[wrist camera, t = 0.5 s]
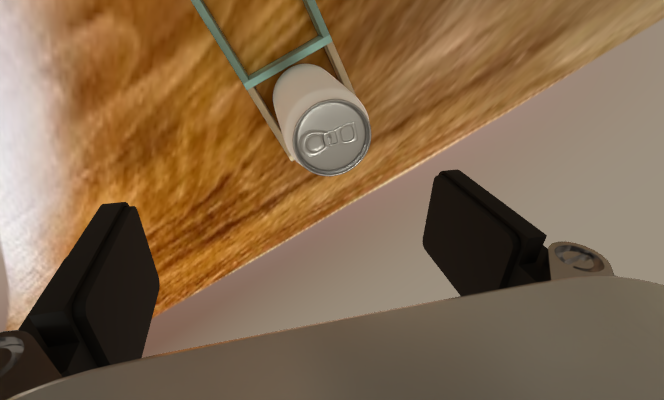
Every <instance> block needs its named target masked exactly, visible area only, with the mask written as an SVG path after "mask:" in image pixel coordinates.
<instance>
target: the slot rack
mask: <svg viewBox="0 0 664 400" xmlns="http://www.w3.org/2000/svg"><path fill="white" fill-rule="evenodd" d="M191 2H192V3H193V5H194V6H195V8H196V10H197V11H198V13H199V14H200V16H201V18H202V19H203V21H204V22H205V24H206V26H207V27H208V29H209V30H210V32H211V34H212V35H213V37H214V38H215V40H216V42H217V43H218V45H219V46H220V48H221V50H222V51H223V53H224V54H225V56H226V58H227V59H228V61H229V62H230V64H231V66H232V67H233V69H234V70H235V72H236V74H237V75H238V77H239V78H240V80H241V82H242V83H243V85H244V86H245V88H246V90H247V91H248V93H249V94H250V96H251V98H252V99H253V101H254V102H255V104H256V106H257V107H258V109H259V110H260V112H261V114H262V115H263V117H264V118H265V120H266V122H267V123H268V125H269V126H270V128H271V130H272V131H273V133H274V134H275V136H276V138H277V139H278V141H279V142H280V144H281V146H282V147H283V149H284V150H285V152H286V154H287V155H288V157H289V158H290V160H291V162H292V161H293V160H295V159H294V158H293V157H292V156H291V154H290V153H289V151H288V149H287V146H286V144H285V141H284V138H283V135H282V132H281V129H280V127H279V125H278V124H277V122H276V120H275V119H274V117H273V115H272V114H271V112H270V110H269V109H268V107H267V105H266V104H265V102H264V101H263V99H262V97H261V96H260V94H259V92H258V91H257V89H256V87H255V85H257V84H259V83H261V82H262V81H264V80H266V79H268V78H269V77H271V76H273V75H275V74H276V73H278V72H280V71H282V70H283V69H285V68H287V67H289V66H290V65H292V64H294V63H296V62H297V61H299V60H301V59H303V58H304V57H306V56H308V55H310V54H311V53H313V52H315V51H317V50H318V49H320V48H322V47H324V49H325V51H326V53H327V55H328V58H329V60H330V62H331V64H332V66H333V69H334V71H335V73H336V75H337V77H338V80H339V82H340V83H341V84H342V85H344V86H345V87H346V88H347V89H348V90H349V91H351V92H352V93H353V94H354V95H355V96H356V94H355V92H354V90H353V87H352V85H351V83H350V80H349V78H348V76H347V73H346V71H345V69H344V66H343V64H342V62H341V60H340V57H339V55H338V53H337V50H336V48H335V46H334V43H333V41H332V39H331V36H330V34H329V32H328V30H327V27H326V25H325V23H324V20H323V18H322V16H321V13H320V11H319V9H318V6H317V4H316V2H315V0H303V2H304V4H305V7H306V9H307V11H308V13H309V15H310V18H311V20H312V22H313V24H314V27H315V29H316V31H317V33H318V35H319V36H317V37H315V38H314V39H312V40H310V41H308V42H307V43H305V44H303V45H301V46H300V47H298V48H296V49H294V50H293V51H291V52H289V53H287V54H286V55H284V56H282V57H281V58H279V59H277V60H275V61H274V62H272V63H270V64H268V65H267V66H265V67H263V68H261V69H260V70H258V71H256V72H254V73H253V74H251V75H249V76H248V74H247V72H246V71H245V69H244V68H243V66H242V64H241V63H240V61H239V59H238V58H237V56H236V54H235V53H234V51H233V49H232V48H231V46H230V44H229V43H228V41H227V39H226V38H225V36H224V35H223V33H222V31H221V30H220V28H219V26H218V25H217V23H216V21H215V20H214V18H213V16H212V15H211V13H210V11H209V10H208V8H207V6H206V5H205V3H204V2H203V0H191Z"/></svg>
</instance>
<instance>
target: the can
mask: <svg viewBox="0 0 664 400" xmlns="http://www.w3.org/2000/svg"><path fill="white" fill-rule="evenodd" d="M273 105H274V109H275V112H276V116H277V119H278V122H279V126H280V129H281V132H282V135H283V138H284V141H285V144H286V146H287V149H288V151H289V153H290V154H291V156H292V157H293V158H294V159H295V160H296V161H297V162H298V163H299V164H300V165H302V166H303V167H305V168H306V169H307V170H309V171H310V172H312V173H314V174H317V175H321V176H336V175H340V174H343V173H346V172H348V171H350V170H351V169H353V168H354V167H355V166H357V165H358V164H359V163H360V162H361V161H362V159H363V158H364V156H365V155H366V153H367V151H368V149H369V146H370V142H371V127H370V123H369V117H368V114H367V111H366V109H365V107H364V106H363V104H362V103H361V101H360V100H359V99H358V98H357V97H356V96H355V95H354V94H353V93H352V92H351V91H349V90H348V89H347V88H346V87H345V86H344V85H342V84H341V83H340V82H339V81H338V80H337V79H335V78H334V77H333V76H332V75H331V74H329V73H328V72H327V71H326V70H324V69H323V68H321V67H319V66H316V65H313V64H298V65H295V66H292V67H290V68H289V69H287V70H286V71H285V72H284V73H283V74H282V75H281V76H280V77H279V79H278V80H277V82H276V84H275V87H274V91H273Z"/></svg>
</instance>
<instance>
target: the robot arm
mask: <svg viewBox="0 0 664 400" xmlns="http://www.w3.org/2000/svg"><path fill="white" fill-rule="evenodd" d="M545 239H546V235H545V234H544V233H543V232H541V231H540V230H539V229H537V228H536V227H535V226H533V225H532V224H531V223H529V222H528V221H527V220H525V219H524V218H523V217H521V216H520V215H519V214H517V213H516V212H515V211H513V210H512V209H511V208H509V207H508V206H506V205H505V204H504V203H503V202H501V201H500V200H499V199H497V198H496V197H495V196H493V195H492V194H490V193H489V192H488V191H486V190H485V189H484V188H482V187H481V186H480V185H478V184H477V183H476V182H474V181H473V180H472V179H470V178H469V177H468V176H466V175H465V174H464V173H462V172H461V171H460V170H448V171H441V172H440V173H439V175H438V176H436V177H435V178H434V182H433V187H432V193H431V199H430V203H429V209H428V214H427V219H426V225H425V230H424V235H423V246H424V248H425V250H426V251H427V253H428V254H429V255H430V257H431V258H432V259H433V261H434V262H435V263H436V264H437V266H438V267H439V268H440V269H441V271H442V272H443V273H444V275H445V276H446V277H447V279H448V280H449V281H450V282H451V284H452V285H453V286H454V288H455V289H456V290H457V291H458V293H459V294H460V297H455V298H449V299H444V300H439V301H433V302H428V303H422V304H417V305H412V306H406V307H401V308H395V309H390V310H386V311H380V312H374V313H369V314H364V315H359V316H353V317H348V318H343V319H338V320H332V321H327V322H322V323H316V324H312V325H306V326H301V327H296V328H291V329H286V330H280V331H275V332H271V333H265V334H260V335H255V336H250V337H245V338H240V339H234V340H229V341H224V342H219V343H214V344H209V345H204V346H199V347H194V348H189V349H183V350H178V351H174V352H168V353H163V354H158V355H153V356H149V357H145V358H141V357H142V353H143V350H144V346H145V342H146V338H147V334H148V330H149V327H150V323H151V319H152V315H153V311H154V308H155V304H156V300H157V296H158V292H159V277H158V274H157V271H156V268H155V264H154V261H153V258H152V255H151V252H150V249H149V245H148V242H147V239H146V236H145V233H144V230H143V227H142V223H141V220H140V217H139V214H138V211H137V209H136V207H135V206H131V207H129V205H128V203H126V202H120V203H110V204H102V205H101V206H100V208H99V209H98V211H97V212H96V214H95V215H94V217H93V218H92V220H91V221H90V223H89V224H88V226H87V227H86V229H85V230H84V232H83V234H82V235H81V237H80V238H79V240H78V241H77V243H76V244H75V246H74V247H73V249H72V250H71V252H70V253H69V255H68V256H67V257H66V258H65V259H64V261H63V262H62V264H61V266H60V267H59V269H58V270H57V272H56V273H55V275H54V276H53V278H52V279H51V281H50V282H49V284H48V285H47V287H46V288H45V290H44V291H43V293H42V294H41V296H40V297H39V299H38V300H37V302H36V303H35V305H34V307H33V308H32V310H31V311H30V313H29V314H28V316H27V317H26V319H25V320H24V322H23V323H22V325H21V326H20V328H19V329H18V330H12V331H4V332H0V400H664V285H661V284H657V283H653V282H649V281H644V280H639V279H632V278H623V277H618V276H614V273H613V270H612V267H611V265H610V263H609V262H608V260H606V259H605V258H604V257H603V256H602V255H601V254H599V253H598V252H596V251H594V250H592V249H590V248H588V247H586V246H583V245H580V244H576V243H571V242H556V243H552V244H551V245H550V246H549V248H548V249H547V248H546V247H545V246H543V243H544V241H545Z"/></svg>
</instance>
